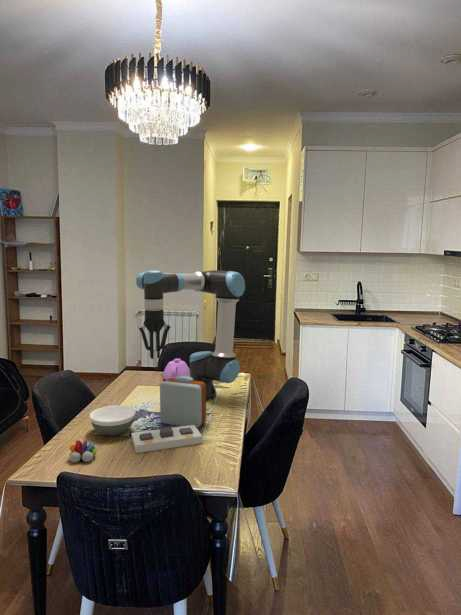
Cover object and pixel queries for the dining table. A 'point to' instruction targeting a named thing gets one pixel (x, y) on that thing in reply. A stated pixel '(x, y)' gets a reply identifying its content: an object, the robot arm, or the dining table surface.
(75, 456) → the rainbow disc toy
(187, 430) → the button
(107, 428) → the bowl
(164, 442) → the board
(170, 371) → the pink cap
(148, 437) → the button
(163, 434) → the button middle
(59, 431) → the dining table surface
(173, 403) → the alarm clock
